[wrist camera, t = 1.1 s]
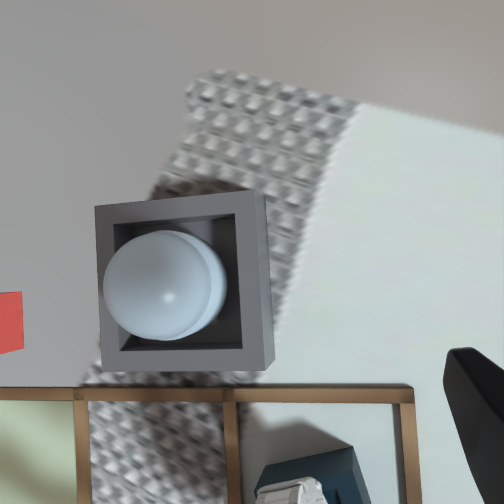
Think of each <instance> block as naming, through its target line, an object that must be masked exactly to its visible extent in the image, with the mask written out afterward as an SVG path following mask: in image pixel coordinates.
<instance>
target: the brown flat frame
mask: <svg viewBox="0 0 504 504" xmlns="http://www.w3.org/2000/svg"><path fill="white" fill-rule="evenodd" d="M88 401H180V402H223V418H224V436H225V454H226V471H227V489H228V504H243V500H242V483H241V466H240V448H239V431H238V414H237V402H282V403H385V404H400V417H401V431H402V445H403V458H404V472H405V486H406V499H407V504H422V492H421V479H420V465H419V452H418V438H417V425H416V411H415V398H414V389H413V387H0V504H92V485H91V463H90V440H89V417H88Z"/></svg>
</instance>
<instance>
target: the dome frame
mask: <svg viewBox="0 0 504 504" xmlns="http://www.w3.org/2000/svg"><path fill="white" fill-rule="evenodd" d="M95 227H96V250H97V272H98V292H99V293H98V294H99V314H100V315H99V316H100V338H101V360H102V372H148V371H265V370H266V369H267V368H268V367H269V366H270V365H271V363H272V362H273V361H274V360H275V349H274V333H273V316H272V300H271V284H270V268H269V252H268V235H267V219H266V203H265V197H264V196H262V195H261V194H260V193H258V192H257V191H255V190H246V191H236V192H226V193H217V194H207V195H197V196H188V197H178V198H168V199H158V200H149V201H139V202H129V203H120V204H110V205H101V206H95ZM161 230H169V231H176V232H182V233H188V234H192V235H195V236H197V237H200V238H202V239H203V240H205V241H206V242H208V243H209V244H210V245H211V246H212V247H213V248H214V249H215V250H216V251H217V253H218V254H219V255H220V257H221V259H222V261H223V263H224V266H225V269H226V273H227V280H228V288H227V295H226V299H225V302H224V305H223V307H222V309H221V311H220V313H219V314H218V315H217V317H216V318H215V319H214V320H213V321H212V322H211V323H210V324H209V325H208V326H206V327H205V328H203V329H201V330H200V331H197V332H195V333H192V334H190V335H188V336H185V337H183V338H180V339H176V340H168V341H165V340H154V339H146V338H141V337H138V336H136V335H133V334H131V333H130V332H128V331H126V330H125V329H123V328H122V327H121V326H120V325H119V324H118V323H117V322H116V321H115V320H114V318H113V317H112V315H111V314H110V312H109V310H108V308H107V306H106V303H105V299H104V293H103V281H104V275H105V271H106V269H107V266H108V264H109V262H110V260H111V259H112V257H113V256H114V254H115V253H116V252H117V251H118V250H119V249H120V248H121V247H122V246H123V245H125V244H126V243H127V242H129V241H131V240H132V239H134V238H137V237H139V236H142V235H146V234H149V233H152V232H155V231H161Z"/></svg>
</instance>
